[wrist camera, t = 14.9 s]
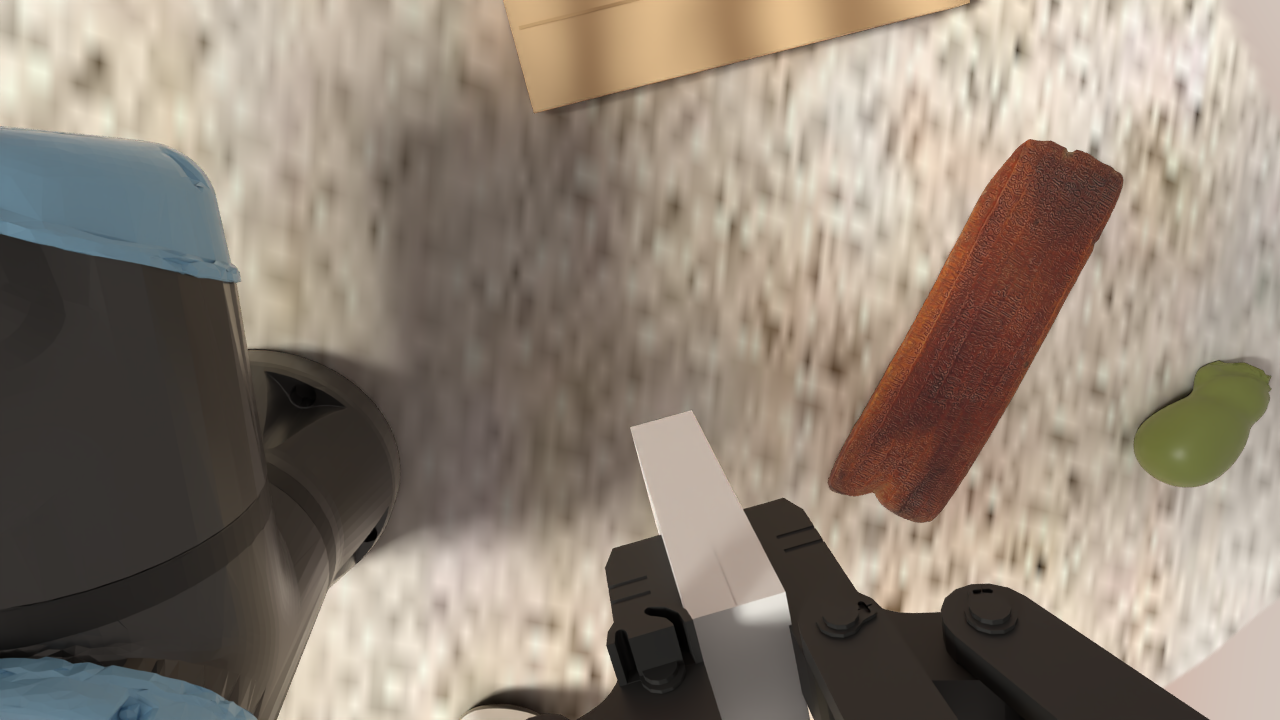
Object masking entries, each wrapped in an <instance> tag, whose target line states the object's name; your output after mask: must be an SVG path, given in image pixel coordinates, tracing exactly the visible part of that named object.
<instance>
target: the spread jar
mask: <svg viewBox="0 0 1280 720" xmlns="http://www.w3.org/2000/svg"><path fill="white" fill-rule="evenodd" d="M538 715H540V714H538V713H536V712H534V711H532V710H530V709H527V708H524V707H520V706H516V705H510V704H489V705H482V706H478V707H475V708H473V709H470V710H469V711H467V712H466V713H464V714H463V715H462V716H461V717H460V718H459V719H458V720H526V719H528V718H530V717H534V716H538Z"/></svg>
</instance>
